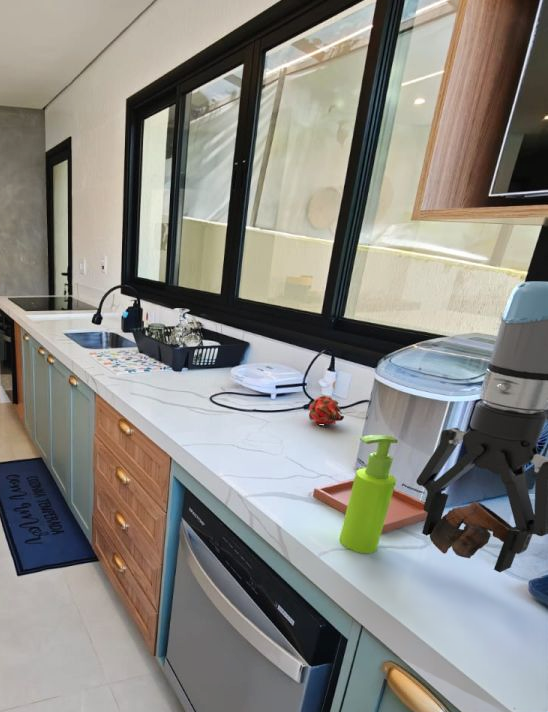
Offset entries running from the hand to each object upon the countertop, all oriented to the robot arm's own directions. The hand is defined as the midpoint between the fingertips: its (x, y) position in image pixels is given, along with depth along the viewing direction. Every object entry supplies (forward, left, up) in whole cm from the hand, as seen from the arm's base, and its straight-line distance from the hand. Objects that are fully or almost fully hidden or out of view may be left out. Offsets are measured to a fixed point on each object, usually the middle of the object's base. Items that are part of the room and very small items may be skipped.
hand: (463, 549), depth 74 cm
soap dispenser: (+14, +3, -7) cm, 16 cm away
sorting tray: (+22, -12, -7) cm, 26 cm away
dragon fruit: (+61, -43, -7) cm, 75 cm away
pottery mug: (0, 0, 0) cm, 1 cm away
